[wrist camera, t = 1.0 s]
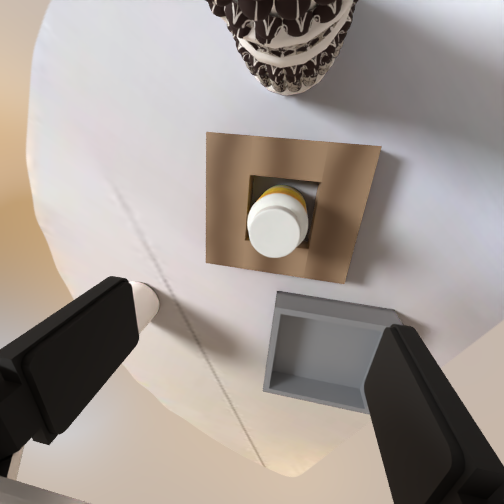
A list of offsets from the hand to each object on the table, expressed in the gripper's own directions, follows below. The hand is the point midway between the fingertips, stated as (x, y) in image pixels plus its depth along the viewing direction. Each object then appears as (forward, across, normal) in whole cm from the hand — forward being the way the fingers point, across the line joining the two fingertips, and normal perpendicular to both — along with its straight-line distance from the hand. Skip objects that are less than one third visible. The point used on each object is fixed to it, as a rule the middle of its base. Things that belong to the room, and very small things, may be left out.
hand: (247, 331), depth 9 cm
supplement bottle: (+20, 0, 0) cm, 20 cm away
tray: (+20, -8, +18) cm, 28 cm away
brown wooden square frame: (+20, 0, 0) cm, 20 cm away
